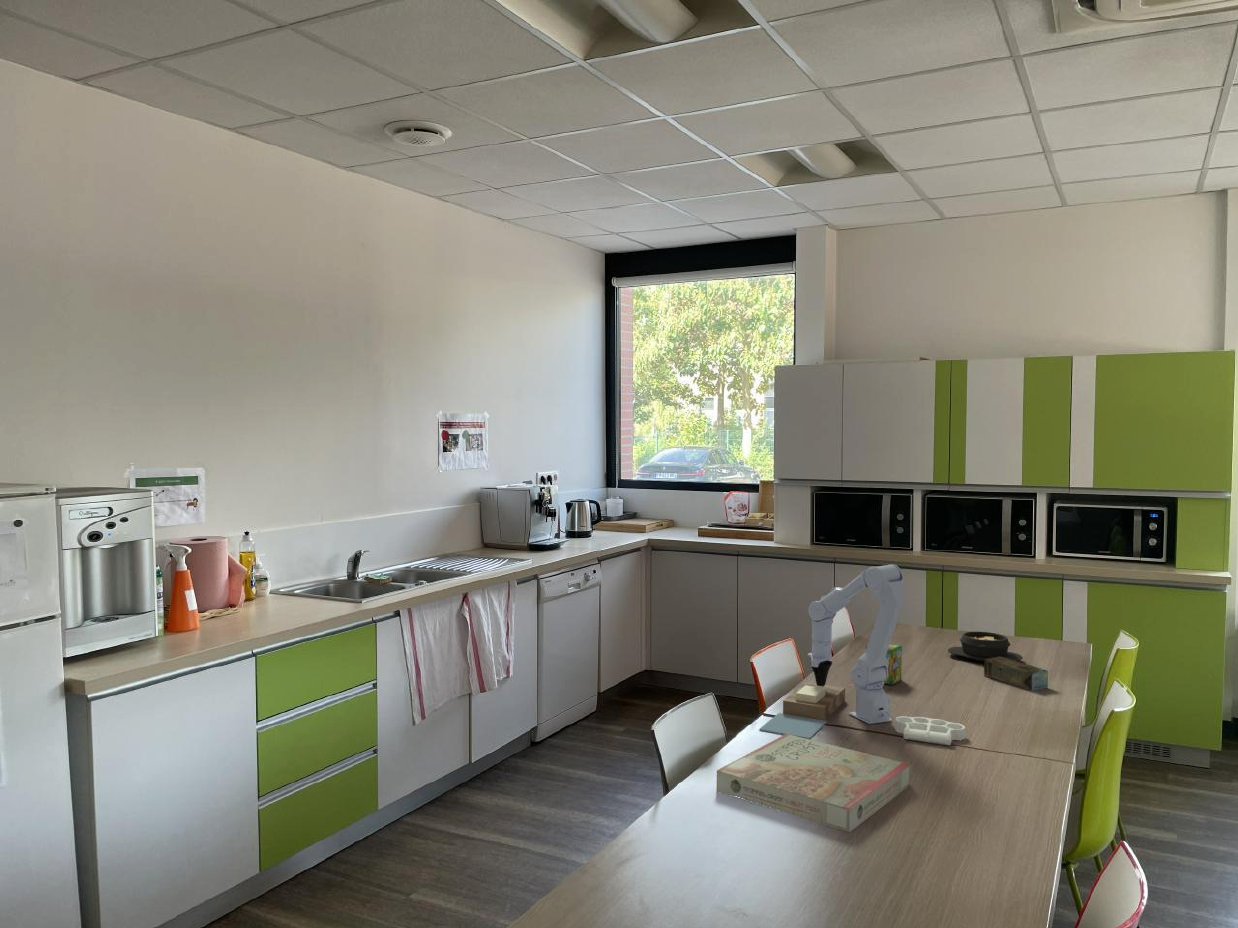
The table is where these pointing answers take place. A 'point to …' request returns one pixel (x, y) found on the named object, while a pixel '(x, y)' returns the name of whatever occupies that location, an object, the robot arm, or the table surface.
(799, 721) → the mat
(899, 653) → the chalk box
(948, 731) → the knuckle duster
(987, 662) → the beverage carton
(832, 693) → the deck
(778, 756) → the pizza box
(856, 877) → the table surface
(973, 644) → the casserole
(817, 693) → the tile
